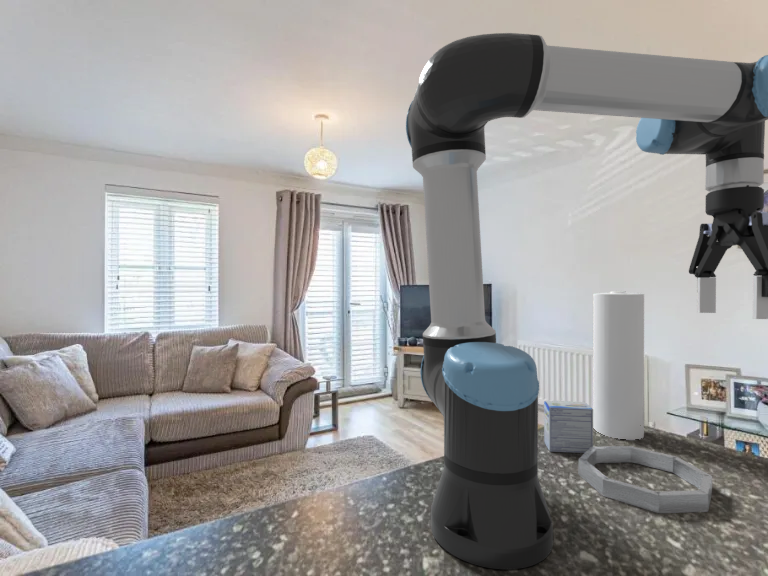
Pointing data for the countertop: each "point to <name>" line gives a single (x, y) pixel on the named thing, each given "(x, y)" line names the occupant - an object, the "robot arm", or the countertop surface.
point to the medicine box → (568, 426)
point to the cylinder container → (618, 364)
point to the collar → (643, 496)
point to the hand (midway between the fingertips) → (732, 315)
